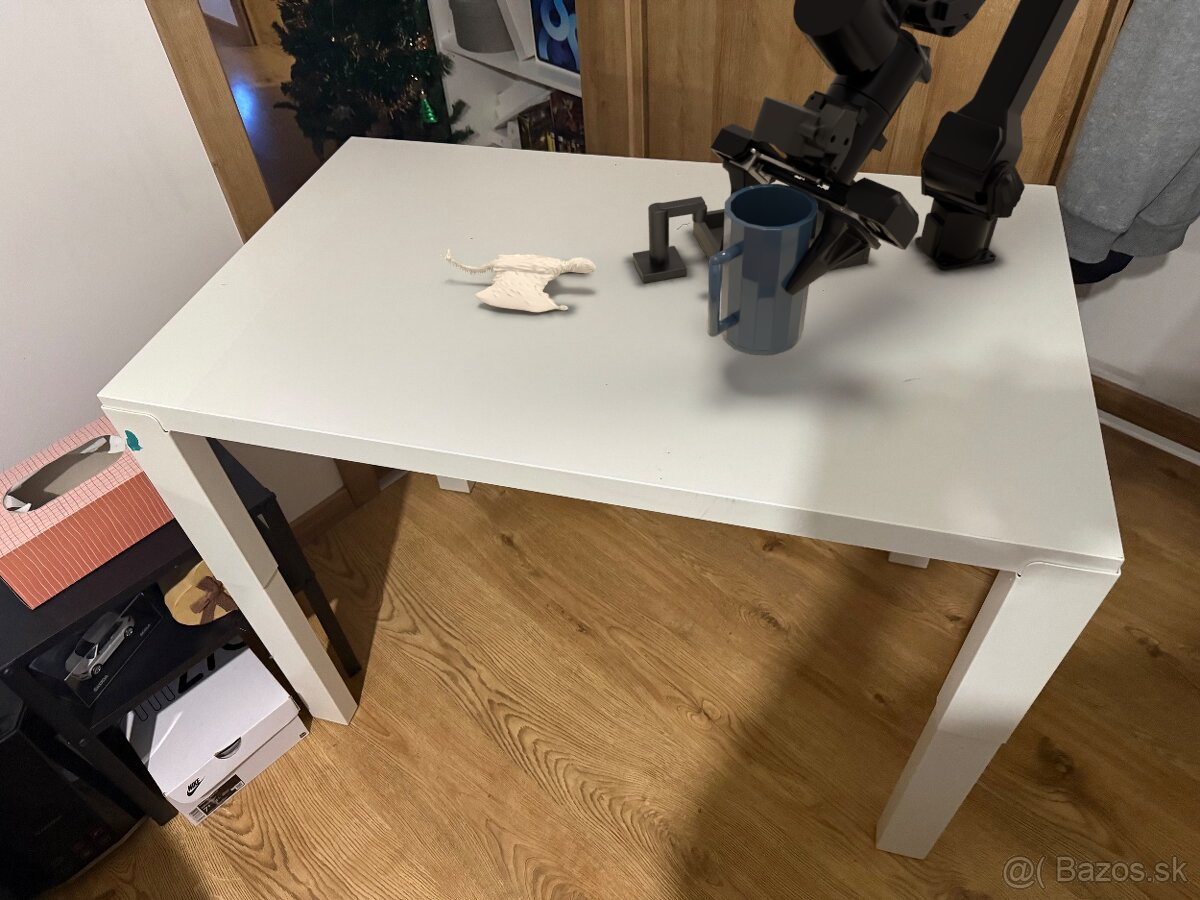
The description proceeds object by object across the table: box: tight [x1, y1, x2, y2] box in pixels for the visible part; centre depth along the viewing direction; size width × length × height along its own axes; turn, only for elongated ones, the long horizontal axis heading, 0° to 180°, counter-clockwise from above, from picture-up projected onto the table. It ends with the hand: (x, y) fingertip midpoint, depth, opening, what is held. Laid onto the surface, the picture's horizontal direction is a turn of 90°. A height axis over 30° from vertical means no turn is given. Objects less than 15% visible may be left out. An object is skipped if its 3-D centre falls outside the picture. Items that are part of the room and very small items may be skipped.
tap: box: [632, 196, 708, 284], centre depth 90 cm, size 8×5×8 cm, turn 102°
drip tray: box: [692, 197, 871, 282], centre depth 93 cm, size 16×12×2 cm
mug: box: [706, 183, 818, 357], centre depth 70 cm, size 10×7×12 cm
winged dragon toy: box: [440, 249, 597, 313], centre depth 90 cm, size 18×10×4 cm, turn 78°
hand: (754, 274), depth 70 cm, fingers closed on mug, 7 cm apart
